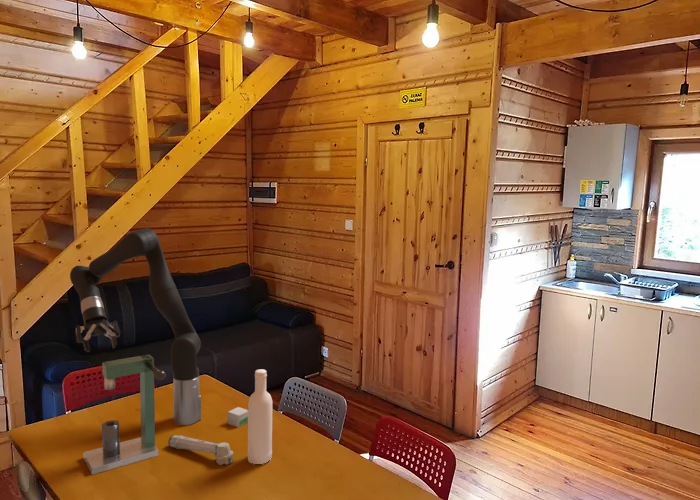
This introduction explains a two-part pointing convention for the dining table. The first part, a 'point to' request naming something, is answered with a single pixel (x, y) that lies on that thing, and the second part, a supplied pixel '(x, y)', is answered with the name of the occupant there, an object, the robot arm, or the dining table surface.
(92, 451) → the press
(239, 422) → the small box
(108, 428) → the cylinder
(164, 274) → the robot arm
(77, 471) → the dining table surface
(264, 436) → the bottle
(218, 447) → the white handheld tool
